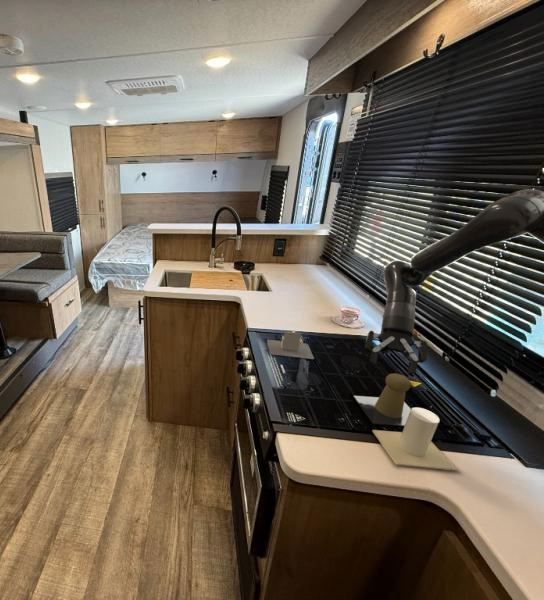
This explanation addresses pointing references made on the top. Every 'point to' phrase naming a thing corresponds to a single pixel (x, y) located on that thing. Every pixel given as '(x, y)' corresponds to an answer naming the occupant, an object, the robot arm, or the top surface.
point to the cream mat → (401, 457)
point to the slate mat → (379, 418)
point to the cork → (393, 395)
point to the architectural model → (290, 346)
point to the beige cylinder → (418, 431)
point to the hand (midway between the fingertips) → (391, 369)
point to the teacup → (349, 317)
